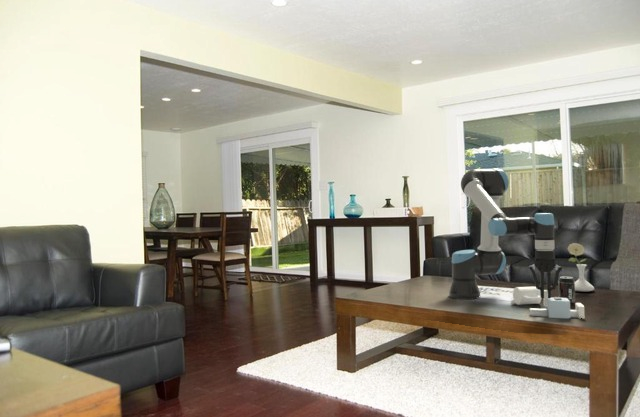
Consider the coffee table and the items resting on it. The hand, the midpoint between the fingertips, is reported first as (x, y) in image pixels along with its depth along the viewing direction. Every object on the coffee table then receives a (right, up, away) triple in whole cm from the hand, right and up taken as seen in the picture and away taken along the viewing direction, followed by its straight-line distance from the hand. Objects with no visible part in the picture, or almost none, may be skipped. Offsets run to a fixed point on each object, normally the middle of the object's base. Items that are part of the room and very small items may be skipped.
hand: (545, 305), depth 209 cm
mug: (+2, -4, +22) cm, 22 cm away
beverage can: (+21, -3, +23) cm, 31 cm away
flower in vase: (+41, -2, +51) cm, 65 cm away
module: (+5, -4, -1) cm, 6 cm away
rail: (+3, -4, -1) cm, 5 cm away
